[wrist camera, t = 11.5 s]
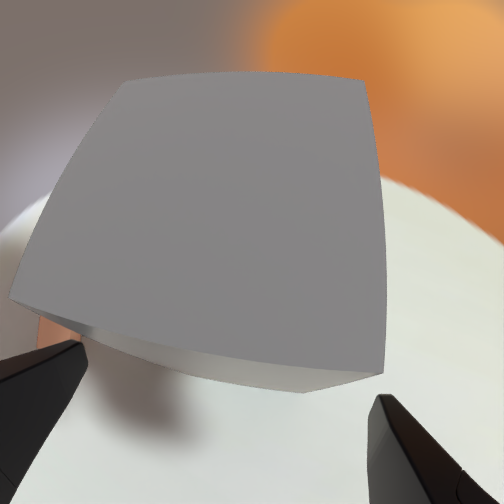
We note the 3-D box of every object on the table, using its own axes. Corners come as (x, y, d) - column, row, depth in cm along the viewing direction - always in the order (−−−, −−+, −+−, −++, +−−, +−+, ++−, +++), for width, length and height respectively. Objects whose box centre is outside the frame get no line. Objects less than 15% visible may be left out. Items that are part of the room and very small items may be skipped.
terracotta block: (82, 355, 17) (69, 351, 16) (49, 352, 17) (36, 347, 16) (86, 311, 18) (73, 304, 17) (54, 311, 18) (41, 304, 17)
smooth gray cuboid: (303, 393, 15) (383, 373, 3) (192, 375, 16) (7, 297, 4) (315, 287, 17) (364, 80, 6) (213, 275, 18) (124, 81, 7)
